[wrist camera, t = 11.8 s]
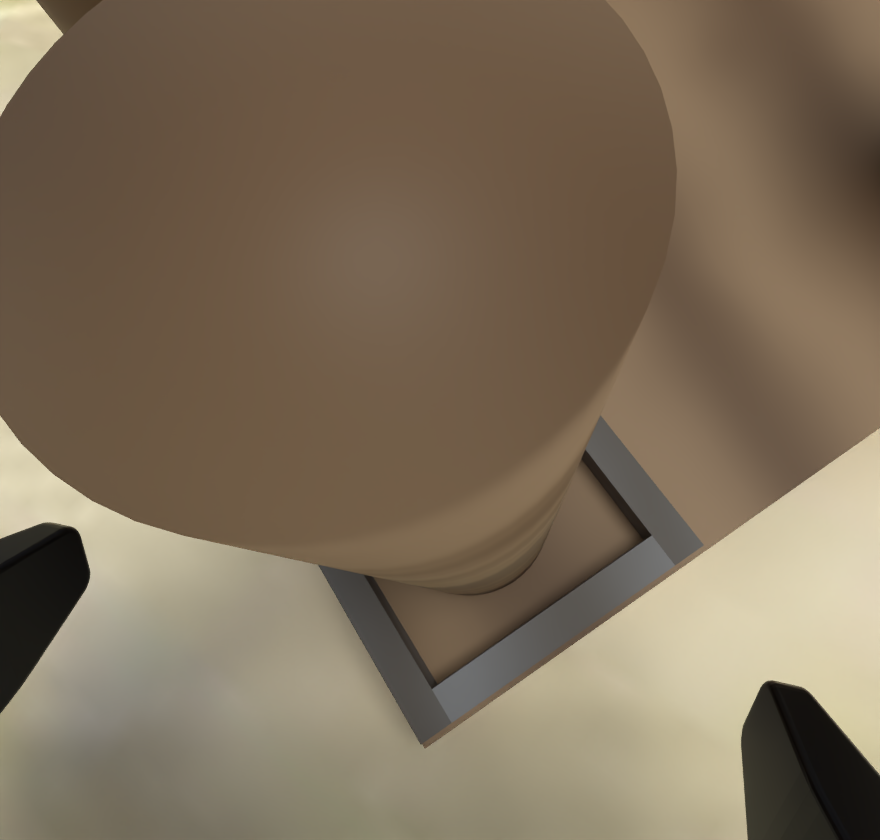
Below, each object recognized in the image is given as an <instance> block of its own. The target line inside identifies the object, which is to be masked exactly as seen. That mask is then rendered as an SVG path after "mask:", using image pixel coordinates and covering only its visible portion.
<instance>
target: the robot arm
mask: <svg viewBox="0 0 880 840" xmlns="http://www.w3.org/2000/svg"><path fill="white" fill-rule="evenodd" d="M89 579H90V568H89V565H88V561H87V558H86V554H85V550H84V547H83V543H82V539H81V536H80V534H79V532H78V531H77V530H76V529H75V528H73V527H70V526H65V525H61V524H56V523H42V524H39V525H36V526H33V527H31V528H28V529H25V530H23V531H20V532H17V533H15V534H12V535H9V536H7V537H4V538H1V539H0V713H1V712H2V711H3V710H4V708H5V707H6V706H7V705H8V703H9V702H10V701H11V699H12V698H13V697H14V695H15V694H16V693H17V691H18V690H19V689H20V687H21V686H22V685H23V683H24V682H25V680H26V679H27V677H28V676H29V674H30V673H31V672H32V670H33V669H34V667H35V666H36V664H37V663H38V661H39V660H40V658H41V657H42V655H43V654H44V652H45V650H46V649H47V647H48V646H49V644H50V643H51V641H52V640H53V638H54V637H55V635H56V634H57V632H58V631H59V629H60V628H61V626H62V625H63V623H64V622H65V620H66V619H67V617H68V616H69V614H70V613H71V611H72V610H73V608H74V607H75V605H76V604H77V602H78V601H79V599H80V598H81V596H82V594H83V593H84V591H85V590H86V588H87V586H88V583H89ZM741 750H742V764H743V778H744V792H745V806H746V820H747V834H748V840H880V775H879V773H878V772H877V771H876V770H875V769H874V767H873V766H872V765H871V764H870V763H869V762H868V760H867V759H866V758H865V757H864V756H863V754H862V753H861V752H860V751H859V750H858V749H857V747H856V746H855V745H854V744H853V743H852V741H851V740H850V739H849V738H848V737H847V736H846V734H845V733H844V732H843V731H842V730H841V729H840V727H839V726H838V725H837V724H836V723H835V721H834V720H833V719H832V718H831V717H830V716H829V714H828V713H827V712H826V711H825V710H824V708H823V707H822V706H821V705H820V704H819V703H818V701H817V700H816V699H815V698H814V697H813V696H812V694H811V693H810V692H808V691H807V690H806V689H804V688H802V687H799V686H795V685H790V684H786V683H781V682H777V681H767V682H765V683H764V684H763V685H762V686H761V688H760V690H759V692H758V694H757V696H756V699H755V701H754V703H753V705H752V707H751V709H750V712H749V714H748V716H747V718H746V720H745V723H744V725H743V729H742V736H741Z"/></svg>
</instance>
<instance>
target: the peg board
mask: <svg viewBox="0 0 880 840" xmlns="http://www.w3.org/2000/svg"><path fill="white" fill-rule="evenodd" d="M101 1H102V0H37V2H38V3H39V4H40V5H41V7H42V8H43V9H44V10H45V12H46V13H47V14H48V15H49V17H50V18H51V19H52V20H53V22H54V23H55V24H56V25H57V27H58V28H59V29H60V30H61V32H62V33H63V34H65V33H66V32H67V31H68V30H69V29H70V28H71V27H72V26H73V25H74V24H75V23H76V22H77V21H78V20H79V19H81V18H82V17H83V16H84V15H85V14H86V13H87V12H88V11H90V10H91V9H92V8H94V7H95V6H96V5H97V4H99V3H100V2H101ZM605 1H606V2H607V3H608V4H609V5H610V6H611V7H612V8H613V9H614V10H615V11H616V13H617V14H618V15H619V16H620V17H621V18H622V19H623V21H624V22H625V24H626V25H627V27H628V28H629V30H630V31H631V33H632V34H633V36H634V37H635V39H636V40H637V42H638V43H639V45H640V46H641V48H642V49H643V50H644V52H645V54H646V57H647V59H648V61H649V63H650V65H651V67H652V70H653V72H654V74H655V76H656V78H657V80H658V82H659V85H660V87H661V90H662V93H663V97H664V100H665V104H666V107H667V111H668V115H669V118H670V122H671V125H672V130H673V139H674V148H675V157H676V166H677V180H676V201H675V216H674V221H673V226H672V231H671V236H670V241H669V245H668V250H667V255H666V260H665V263H664V266H663V268H662V271H661V274H660V276H659V279H658V282H657V284H656V287H655V290H654V292H653V295H652V298H651V300H650V303H649V306H648V308H647V310H646V313H645V315H644V317H643V320H642V322H641V324H640V326H639V329H638V331H637V333H636V335H635V338H634V340H633V342H632V345H631V347H630V349H629V351H628V354H627V356H626V358H625V360H624V363H623V365H622V367H621V370H620V372H619V374H618V376H617V379H616V381H615V383H614V385H613V388H612V390H611V392H610V395H609V397H608V399H607V401H606V404H605V406H604V408H603V410H602V413H601V415H600V417H599V420H598V422H597V424H596V426H595V429H594V431H593V433H592V435H591V438H590V440H589V442H588V445H587V447H586V449H585V451H584V454H583V456H582V458H581V460H580V463H579V465H578V467H577V470H576V472H575V474H574V476H573V479H572V481H571V483H570V485H569V488H568V490H567V492H566V495H565V497H564V499H563V501H562V504H561V506H560V508H559V510H558V513H557V515H556V517H555V520H554V522H553V524H552V526H551V529H550V531H549V533H548V535H547V538H546V540H545V542H544V545H543V547H542V549H541V551H540V553H539V555H538V556H537V558H536V560H535V561H534V562H533V564H532V565H531V567H530V568H529V569H528V570H527V571H526V572H525V573H524V574H523V575H522V576H521V577H519V578H518V579H517V580H516V581H514V582H513V583H511V584H509V585H508V586H506V587H504V588H502V589H499V590H497V591H494V592H490V593H487V594H481V595H457V594H451V593H447V592H442V591H437V590H433V589H428V588H424V587H419V586H414V585H410V584H405V583H400V582H396V581H391V580H387V579H382V578H377V577H373V576H368V575H364V574H359V573H354V572H350V571H345V570H340V569H336V568H331V567H327V566H322V565H319V567H320V569H321V570H322V572H323V574H324V576H325V577H326V579H327V581H328V583H329V584H330V586H331V588H332V590H333V591H334V593H335V595H336V597H337V598H338V600H339V602H340V604H341V605H342V607H343V609H344V611H345V612H346V614H347V616H348V618H349V619H350V621H351V623H352V625H353V626H354V628H355V630H356V632H357V633H358V635H359V637H360V639H361V640H362V642H363V644H364V646H365V647H366V649H367V651H368V653H369V654H370V656H371V658H372V660H373V661H374V663H375V665H376V667H377V668H378V670H379V672H380V674H381V675H382V677H383V679H384V681H385V682H386V684H387V686H388V688H389V689H390V691H391V693H392V695H393V696H394V698H395V700H396V702H397V703H398V705H399V707H400V709H401V710H402V712H403V714H404V716H405V717H406V719H407V721H408V723H409V724H410V726H411V728H412V730H413V731H414V733H415V735H416V737H417V738H418V740H419V742H420V744H423V746H424V748H426V747H428V746H429V745H431V744H432V743H434V742H435V741H436V740H438V739H439V738H441V737H442V736H444V735H445V734H446V733H448V732H449V731H451V730H452V729H453V728H455V727H456V726H458V725H459V724H461V723H462V722H463V721H465V720H466V719H468V718H469V717H470V716H472V715H473V714H475V713H476V712H478V711H479V710H480V709H482V708H483V707H485V706H486V705H487V704H489V703H490V702H492V701H493V700H495V699H496V698H497V697H499V696H500V695H502V694H503V693H504V692H506V691H507V690H509V689H510V688H512V687H513V686H514V685H516V684H517V683H519V682H520V681H521V680H523V679H524V678H526V677H527V676H529V675H530V674H531V673H533V672H534V671H536V670H537V669H539V668H540V667H541V666H543V665H544V664H546V663H547V662H548V661H550V660H551V659H553V658H554V657H556V656H557V655H558V654H560V653H561V652H563V651H564V650H565V649H567V648H568V647H570V646H571V645H573V644H574V643H575V642H577V641H578V640H580V639H581V638H582V637H584V636H585V635H587V634H588V633H590V632H591V631H592V630H594V629H595V628H597V627H598V626H599V625H601V624H602V623H604V622H605V621H607V620H608V619H609V618H611V617H612V616H614V615H615V614H616V613H618V612H619V611H621V610H622V609H624V608H625V607H626V606H628V605H629V604H631V603H632V602H634V601H635V600H636V599H638V598H639V597H641V596H642V595H643V594H645V593H646V592H648V591H649V590H651V589H652V588H653V587H655V586H656V585H658V584H659V583H660V582H662V581H663V580H665V579H666V578H668V577H669V576H670V575H672V574H673V573H675V572H676V571H677V570H679V569H680V568H682V567H683V566H685V565H686V564H687V563H689V562H690V561H692V560H693V559H694V558H696V557H697V556H699V555H700V554H702V553H703V552H704V551H706V550H707V549H709V548H710V547H711V546H713V545H714V544H716V543H717V542H719V541H720V540H721V539H723V538H724V537H726V536H727V535H728V534H730V533H731V532H733V531H734V530H736V529H737V528H738V527H740V526H741V525H743V524H744V523H746V522H747V521H748V520H750V519H751V518H753V517H754V516H755V515H757V514H758V513H760V512H761V511H763V510H764V509H765V508H767V507H768V506H770V505H771V504H772V503H774V502H775V501H777V500H778V499H780V498H781V497H782V496H784V495H785V494H787V493H788V492H789V491H791V490H792V489H794V488H795V487H797V486H798V485H799V484H801V483H802V482H804V481H805V480H806V479H808V478H809V477H811V476H812V475H814V474H815V473H816V472H818V471H819V470H821V469H822V468H823V467H825V466H826V465H828V464H829V463H831V462H832V461H833V460H835V459H836V458H838V457H839V456H841V455H842V454H843V453H845V452H846V451H848V450H849V449H850V448H852V447H853V446H855V445H856V444H858V443H859V442H860V441H862V440H863V439H865V438H866V437H867V436H869V435H870V434H872V433H873V432H875V431H876V430H877V429H879V428H880V0H605Z"/></svg>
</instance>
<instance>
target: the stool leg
mask: <svg viewBox="0 0 880 840" xmlns="http://www.w3.org/2000/svg"><path fill="white" fill-rule="evenodd" d="M676 180H677V166H676V157H675V148H674V139H673V130H672V125H671V122H670V118H669V115H668V111H667V107H666V104H665V100H664V97H663V93H662V90H661V87H660V85H659V82H658V80H657V78H656V76H655V74H654V72H653V70H652V67H651V65H650V63H649V61H648V59H647V57H646V54H645V52H644V50H643V49H642V48H641V46H640V45H639V43H638V42H637V40H636V39H635V37H634V36H633V34H632V33H631V31H630V30H629V28H628V27H627V25H626V24H625V22H624V21H623V19H622V18H621V17H620V16H619V15H618V14H617V13H616V11H615V10H614V9H613V8H612V7H611V6H610V5H609V4H608V3H607V2H606V1H605V0H102V1H101V2H100V3H99V4H97V5H96V6H95V7H94V8H92V9H91V10H90V11H88V12H87V13H86V14H85V15H84V16H83V17H82V18H81V19H79V20H78V21H77V22H76V23H75V24H74V25H73V26H72V27H71V28H70V29H69V30H68V31H67V32H66V33H65V34H64V35H63V36H62V37H61V38H60V39H59V40H57V41H56V42H55V44H54V45H53V46H52V47H51V48H50V49H49V51H48V52H47V53H46V54H45V55H44V56H43V58H42V59H41V60H40V61H39V62H38V63H37V65H36V66H35V67H34V68H33V69H32V70H31V72H30V73H29V74H28V76H27V77H26V78H25V80H24V81H23V83H22V84H21V86H20V87H19V89H18V90H17V91H16V93H15V94H14V96H13V97H12V99H11V100H10V101H9V103H8V104H7V106H6V108H5V110H4V111H3V113H2V115H1V117H0V416H1V417H2V418H3V420H4V421H5V422H6V424H7V425H8V426H9V428H10V429H11V430H12V432H13V433H14V434H15V436H16V437H17V438H18V440H19V441H20V442H21V444H22V445H23V446H24V447H25V448H27V449H28V450H29V451H30V452H31V453H32V454H33V455H34V456H35V457H36V458H37V459H38V460H39V461H40V462H41V463H42V464H43V465H44V466H45V467H46V468H47V469H48V470H50V471H51V472H52V473H53V474H54V475H55V476H57V477H58V478H60V479H61V480H63V481H64V482H65V483H67V484H68V485H70V486H71V487H73V488H74V489H76V490H77V491H79V492H80V493H82V494H83V495H84V496H86V497H87V498H89V499H90V500H92V501H94V502H96V503H98V504H100V505H102V506H104V507H107V508H109V509H111V510H113V511H115V512H117V513H119V514H121V515H124V516H126V517H128V518H130V519H132V520H134V521H137V522H140V523H143V524H147V525H150V526H153V527H157V528H160V529H164V530H167V531H170V532H174V533H177V534H180V535H184V536H188V537H193V538H197V539H202V540H207V541H211V542H216V543H220V544H225V545H230V546H234V547H239V548H244V549H248V550H253V551H257V552H262V553H267V554H271V555H276V556H280V557H285V558H290V559H294V560H299V561H304V562H308V563H313V564H317V565H322V566H327V567H331V568H336V569H340V570H345V571H350V572H354V573H359V574H364V575H368V576H373V577H377V578H382V579H387V580H391V581H396V582H400V583H405V584H410V585H414V586H419V587H424V588H428V589H433V590H437V591H442V592H447V593H451V594H457V595H481V594H487V593H490V592H494V591H497V590H499V589H502V588H504V587H506V586H508V585H509V584H511V583H513V582H514V581H516V580H517V579H518V578H519V577H521V576H522V575H523V574H524V573H525V572H526V571H527V570H528V569H529V568H530V567H531V565H532V564H533V562H534V561H535V560H536V558H537V556H538V555H539V553H540V551H541V549H542V547H543V545H544V542H545V540H546V538H547V535H548V533H549V531H550V529H551V526H552V524H553V522H554V520H555V517H556V515H557V513H558V510H559V508H560V506H561V504H562V501H563V499H564V497H565V495H566V492H567V490H568V488H569V485H570V483H571V481H572V479H573V476H574V474H575V472H576V470H577V467H578V465H579V463H580V460H581V458H582V456H583V454H584V451H585V449H586V447H587V445H588V442H589V440H590V438H591V435H592V433H593V431H594V429H595V426H596V424H597V422H598V420H599V417H600V415H601V413H602V410H603V408H604V406H605V404H606V401H607V399H608V397H609V395H610V392H611V390H612V388H613V385H614V383H615V381H616V379H617V376H618V374H619V372H620V370H621V367H622V365H623V363H624V360H625V358H626V356H627V354H628V351H629V349H630V347H631V345H632V342H633V340H634V338H635V335H636V333H637V331H638V329H639V326H640V324H641V322H642V320H643V317H644V315H645V313H646V310H647V308H648V306H649V303H650V300H651V298H652V295H653V292H654V290H655V287H656V284H657V282H658V279H659V276H660V274H661V271H662V268H663V266H664V263H665V260H666V255H667V250H668V245H669V241H670V236H671V231H672V226H673V221H674V216H675V201H676Z"/></svg>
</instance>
